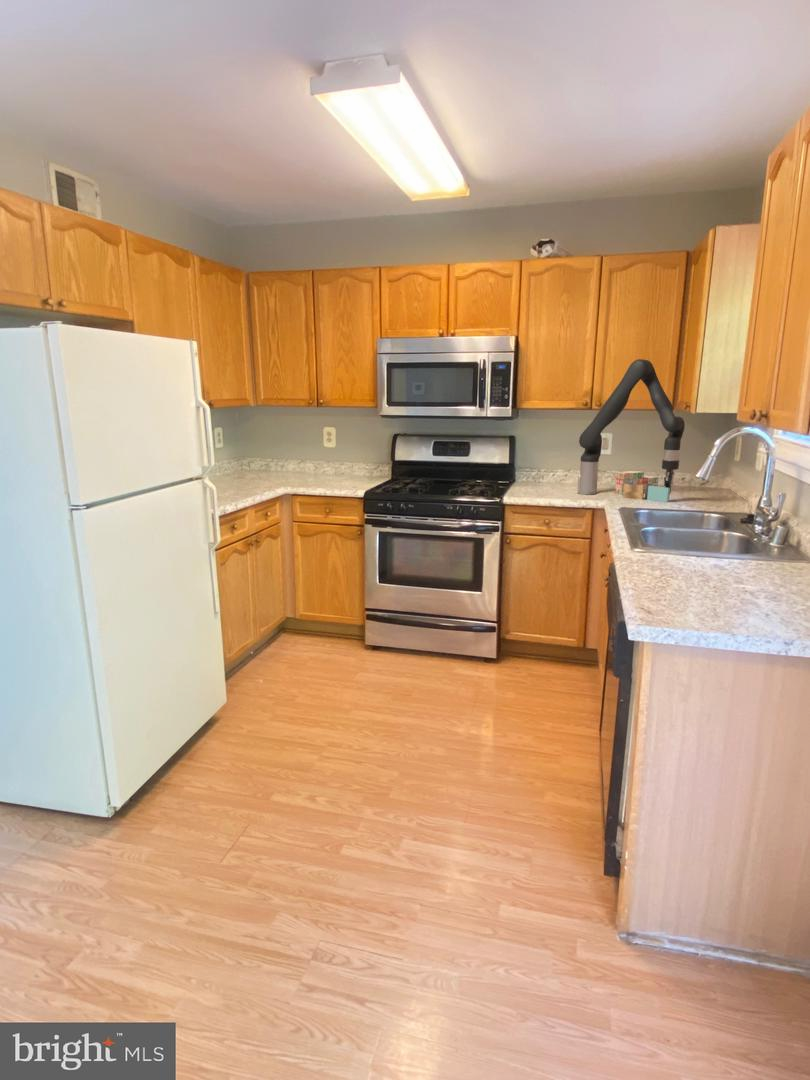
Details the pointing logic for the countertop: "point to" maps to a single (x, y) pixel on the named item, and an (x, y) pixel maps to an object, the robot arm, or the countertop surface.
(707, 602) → the countertop surface
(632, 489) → the fence fixed panel
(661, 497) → the fence free panel
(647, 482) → the stack of blocks
